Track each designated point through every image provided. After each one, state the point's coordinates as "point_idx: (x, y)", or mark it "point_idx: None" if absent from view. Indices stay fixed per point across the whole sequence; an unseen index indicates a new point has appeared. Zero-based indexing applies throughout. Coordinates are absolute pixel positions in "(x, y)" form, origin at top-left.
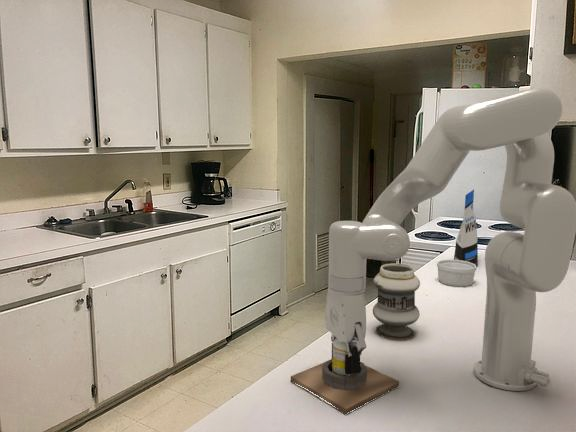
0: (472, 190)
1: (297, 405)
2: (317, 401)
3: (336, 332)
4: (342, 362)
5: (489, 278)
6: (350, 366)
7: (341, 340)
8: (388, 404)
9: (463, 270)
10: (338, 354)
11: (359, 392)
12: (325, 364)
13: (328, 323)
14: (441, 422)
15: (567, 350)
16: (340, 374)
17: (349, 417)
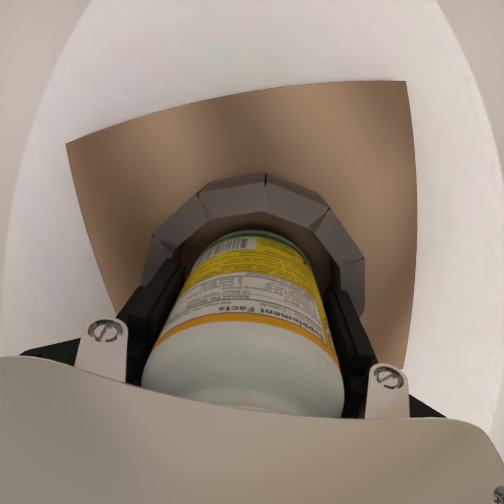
0: None
1: (215, 9)
2: (197, 87)
3: (152, 454)
4: (190, 284)
5: None
6: (138, 294)
7: (38, 367)
8: (86, 299)
9: None
10: (206, 297)
11: (134, 256)
12: (339, 237)
13: (435, 487)
14: (14, 333)
15: None
16: (214, 246)
17: (65, 146)
